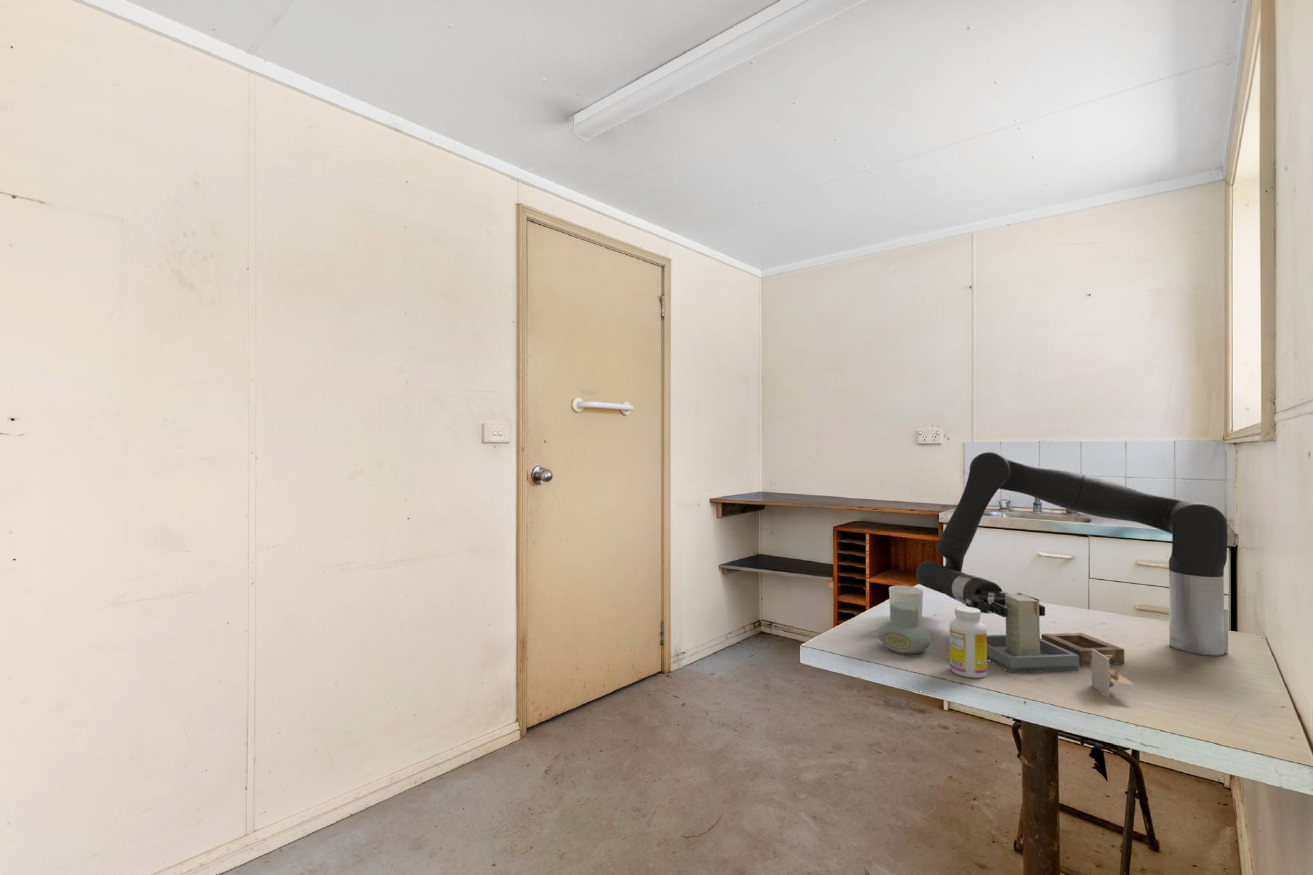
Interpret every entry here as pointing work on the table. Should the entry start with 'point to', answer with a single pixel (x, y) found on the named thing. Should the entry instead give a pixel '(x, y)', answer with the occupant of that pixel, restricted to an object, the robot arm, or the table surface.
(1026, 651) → the skincare box
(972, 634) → the supplement bottle
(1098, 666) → the architectural model
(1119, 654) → the walnut collar
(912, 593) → the white cup
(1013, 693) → the table surface
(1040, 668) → the slate tray
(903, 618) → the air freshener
